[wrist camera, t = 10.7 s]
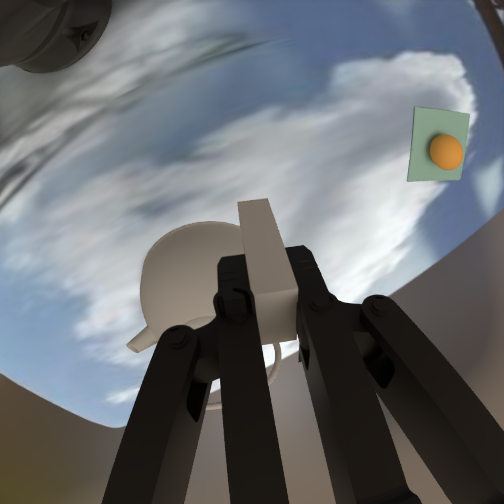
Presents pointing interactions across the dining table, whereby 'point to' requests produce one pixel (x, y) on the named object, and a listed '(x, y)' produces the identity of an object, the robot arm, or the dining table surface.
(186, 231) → the kettle
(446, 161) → the ball
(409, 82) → the dining table surface
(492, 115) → the dining table surface
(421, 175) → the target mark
